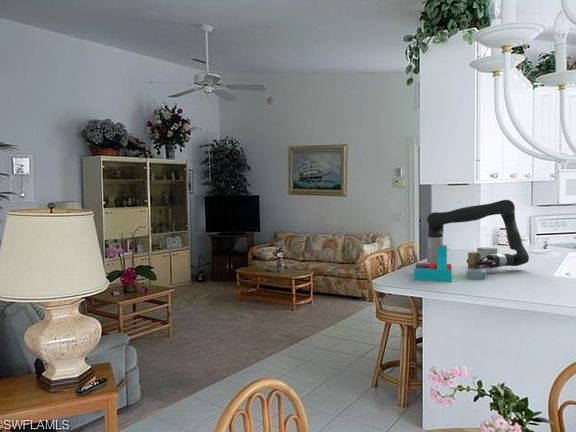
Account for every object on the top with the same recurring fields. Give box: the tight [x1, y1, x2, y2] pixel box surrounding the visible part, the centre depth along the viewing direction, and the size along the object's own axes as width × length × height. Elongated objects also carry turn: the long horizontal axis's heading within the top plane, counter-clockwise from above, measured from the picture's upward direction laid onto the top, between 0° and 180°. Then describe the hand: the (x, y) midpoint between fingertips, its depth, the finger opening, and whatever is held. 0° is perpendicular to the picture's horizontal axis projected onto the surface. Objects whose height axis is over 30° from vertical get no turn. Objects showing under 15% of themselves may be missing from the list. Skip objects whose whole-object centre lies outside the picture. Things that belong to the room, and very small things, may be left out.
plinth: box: [466, 268, 488, 281], centre depth 256 cm, size 9×9×4 cm
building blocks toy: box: [413, 244, 453, 283], centre depth 261 cm, size 19×25×18 cm
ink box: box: [476, 246, 498, 268], centre depth 291 cm, size 9×9×12 cm
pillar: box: [467, 251, 481, 270], centre depth 268 cm, size 4×4×12 cm
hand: (471, 262), depth 268 cm, fingers open, 8 cm apart
